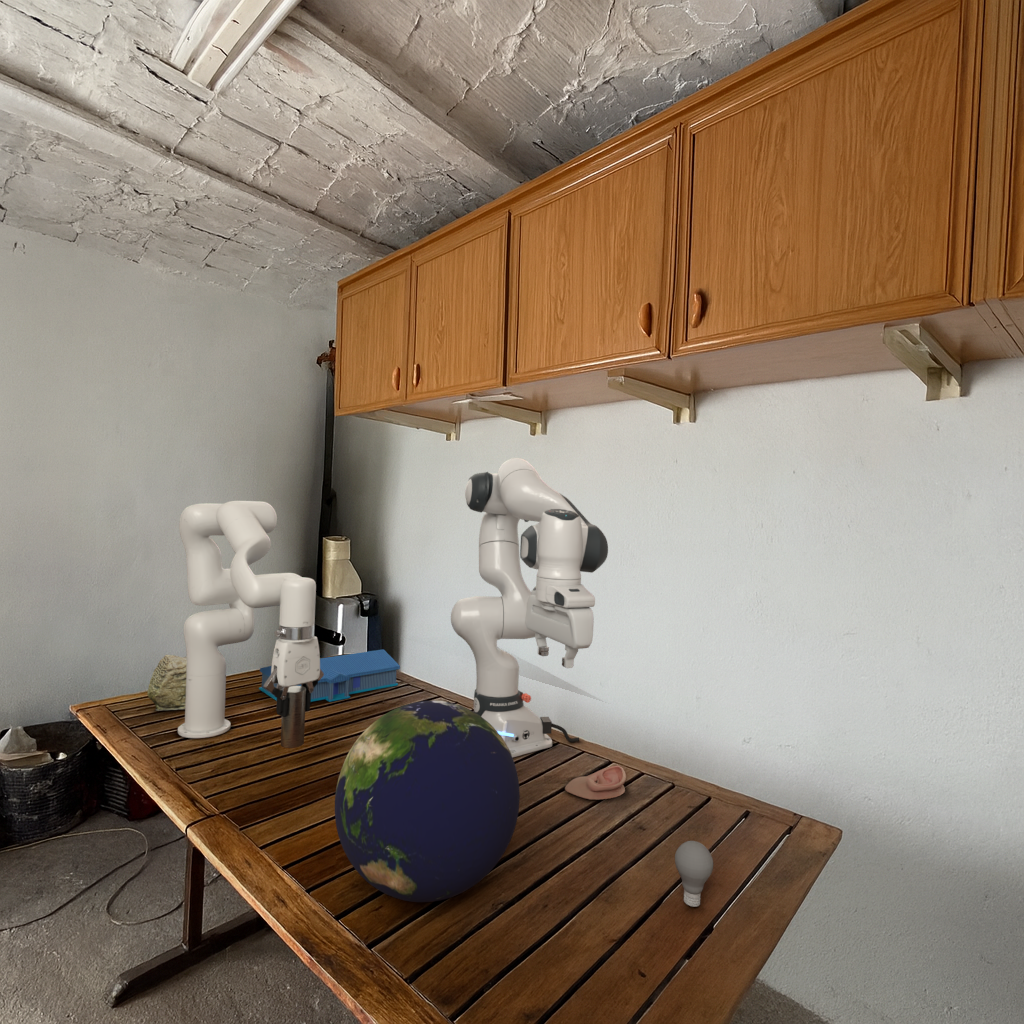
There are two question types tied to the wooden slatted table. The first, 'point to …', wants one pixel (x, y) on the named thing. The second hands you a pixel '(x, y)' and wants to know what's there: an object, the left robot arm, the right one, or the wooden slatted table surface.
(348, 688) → the model building
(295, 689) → the tin
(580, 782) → the rubber human ear
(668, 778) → the wooden slatted table surface
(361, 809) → the globe
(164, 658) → the fossil
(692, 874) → the light bulb
